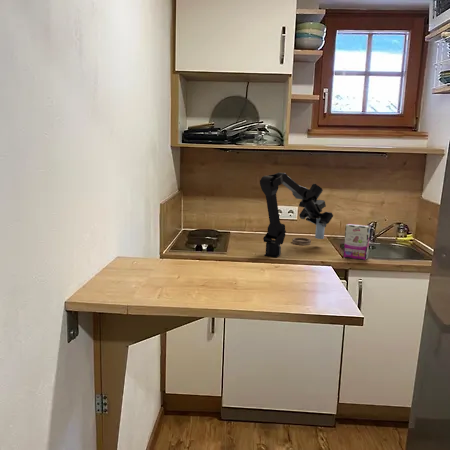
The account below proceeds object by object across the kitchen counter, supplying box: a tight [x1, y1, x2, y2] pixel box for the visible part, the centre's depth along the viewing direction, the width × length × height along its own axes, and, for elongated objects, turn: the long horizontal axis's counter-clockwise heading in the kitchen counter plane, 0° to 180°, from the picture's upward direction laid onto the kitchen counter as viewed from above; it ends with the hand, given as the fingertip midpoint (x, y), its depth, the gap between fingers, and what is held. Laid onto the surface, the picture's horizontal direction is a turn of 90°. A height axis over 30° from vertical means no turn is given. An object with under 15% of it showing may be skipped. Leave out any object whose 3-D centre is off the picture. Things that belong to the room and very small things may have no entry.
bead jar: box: [314, 218, 326, 240], centre depth 250 cm, size 5×5×13 cm
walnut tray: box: [291, 237, 312, 246], centre depth 259 cm, size 10×10×2 cm
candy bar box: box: [342, 223, 371, 261], centre depth 229 cm, size 11×5×16 cm, turn 62°
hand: (322, 225), depth 251 cm, fingers closed on bead jar, 5 cm apart
